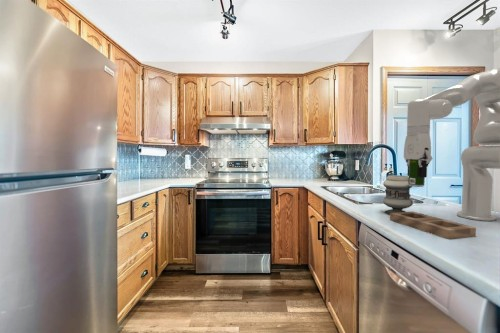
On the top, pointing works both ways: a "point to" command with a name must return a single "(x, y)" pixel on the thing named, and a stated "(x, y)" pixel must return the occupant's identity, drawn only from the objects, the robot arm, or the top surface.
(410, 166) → the beer can
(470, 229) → the can rack
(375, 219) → the top surface
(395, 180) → the apothecary jar
